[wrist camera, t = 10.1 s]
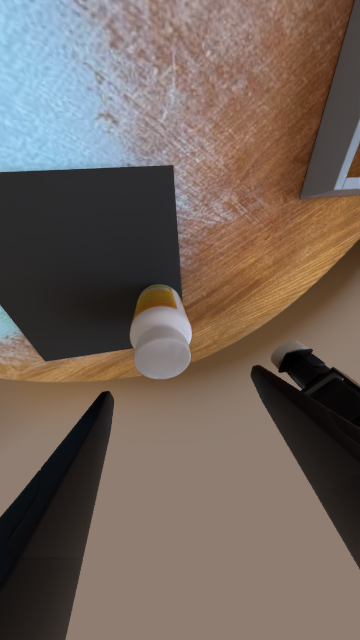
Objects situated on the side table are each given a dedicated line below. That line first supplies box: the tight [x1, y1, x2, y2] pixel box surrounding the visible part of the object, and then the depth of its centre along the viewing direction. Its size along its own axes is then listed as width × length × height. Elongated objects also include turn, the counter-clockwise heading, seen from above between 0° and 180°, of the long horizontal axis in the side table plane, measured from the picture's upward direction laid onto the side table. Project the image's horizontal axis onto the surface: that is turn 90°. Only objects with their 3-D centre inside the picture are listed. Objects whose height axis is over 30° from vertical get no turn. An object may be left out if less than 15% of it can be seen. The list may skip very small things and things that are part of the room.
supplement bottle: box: [130, 284, 192, 379], centre depth 14 cm, size 5×5×10 cm
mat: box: [0, 165, 182, 361], centre depth 17 cm, size 19×20×1 cm
